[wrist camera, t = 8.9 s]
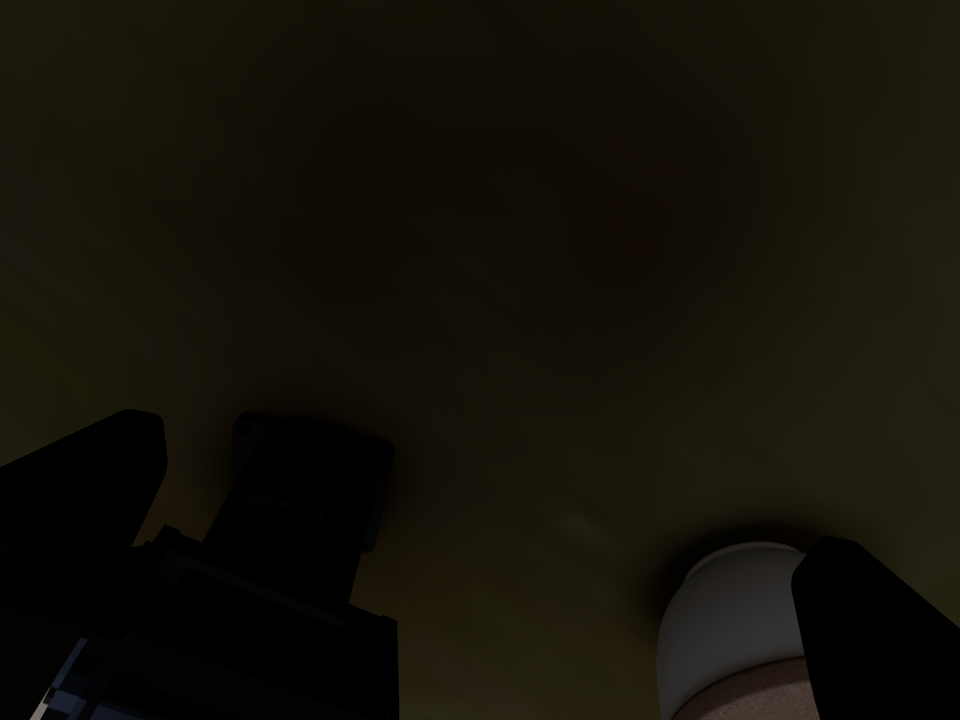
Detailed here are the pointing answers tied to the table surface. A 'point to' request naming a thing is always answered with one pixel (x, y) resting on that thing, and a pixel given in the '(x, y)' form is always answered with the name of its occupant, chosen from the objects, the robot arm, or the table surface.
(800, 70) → the table surface
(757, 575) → the lidded jar
